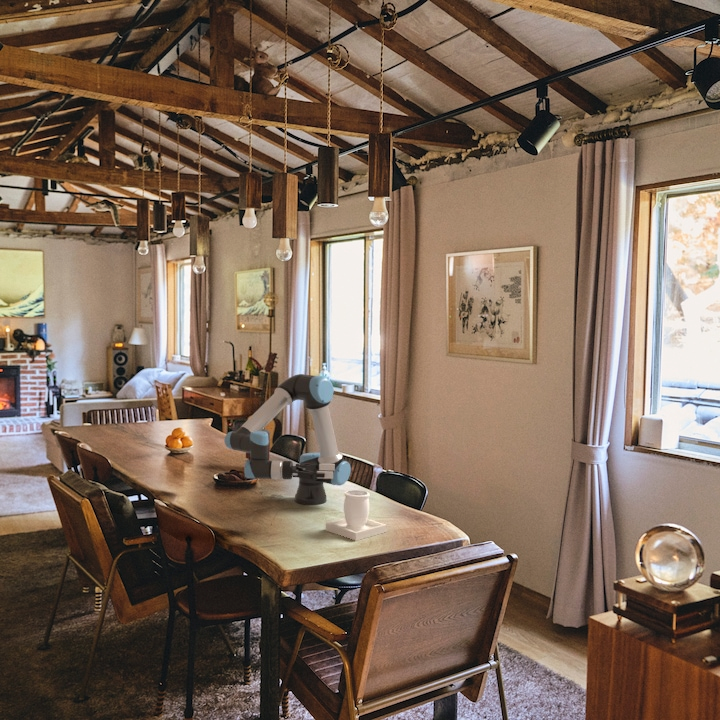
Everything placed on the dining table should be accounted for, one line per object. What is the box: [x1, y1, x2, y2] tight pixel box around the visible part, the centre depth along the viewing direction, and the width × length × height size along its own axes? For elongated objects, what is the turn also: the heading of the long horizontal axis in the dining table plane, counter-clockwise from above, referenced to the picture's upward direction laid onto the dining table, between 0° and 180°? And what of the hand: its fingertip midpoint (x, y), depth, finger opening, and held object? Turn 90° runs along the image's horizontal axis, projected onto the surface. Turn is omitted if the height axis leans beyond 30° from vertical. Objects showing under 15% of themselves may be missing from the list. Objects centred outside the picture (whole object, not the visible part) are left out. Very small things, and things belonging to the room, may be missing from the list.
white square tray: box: [325, 517, 388, 542], centre depth 292 cm, size 18×18×3 cm
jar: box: [343, 489, 371, 531], centre depth 291 cm, size 11×10×15 cm
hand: (333, 471), depth 290 cm, fingers open, 13 cm apart
